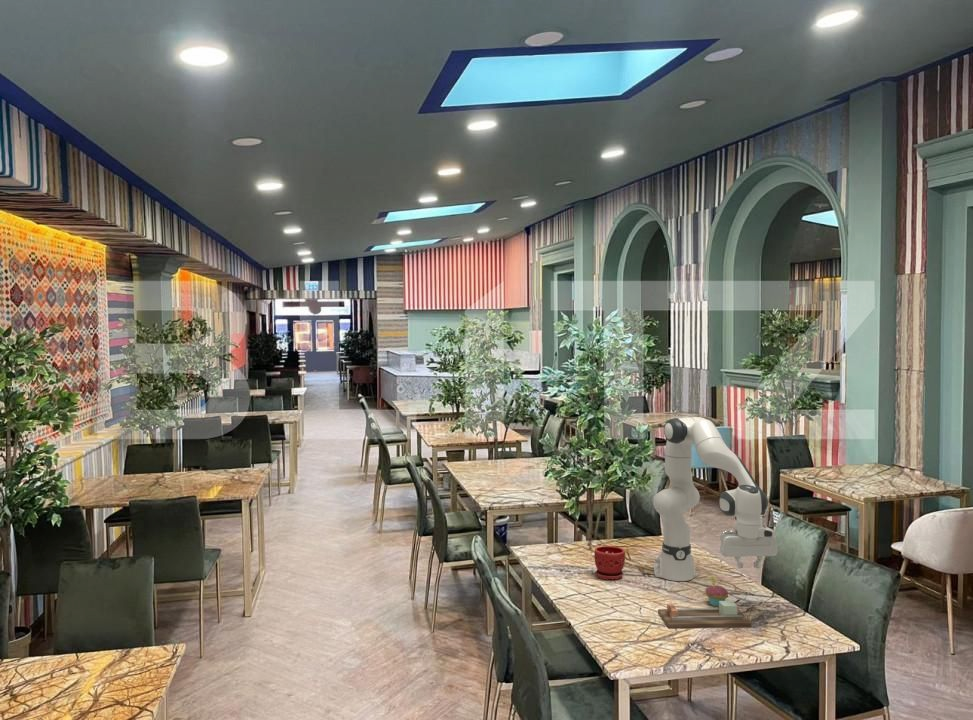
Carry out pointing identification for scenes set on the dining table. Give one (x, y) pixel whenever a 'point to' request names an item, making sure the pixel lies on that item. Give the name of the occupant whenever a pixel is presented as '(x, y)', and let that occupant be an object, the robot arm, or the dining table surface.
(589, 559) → the dining table surface
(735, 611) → the block
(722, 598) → the cupcake
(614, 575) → the plant pot
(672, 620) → the guide board
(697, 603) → the dining table surface
